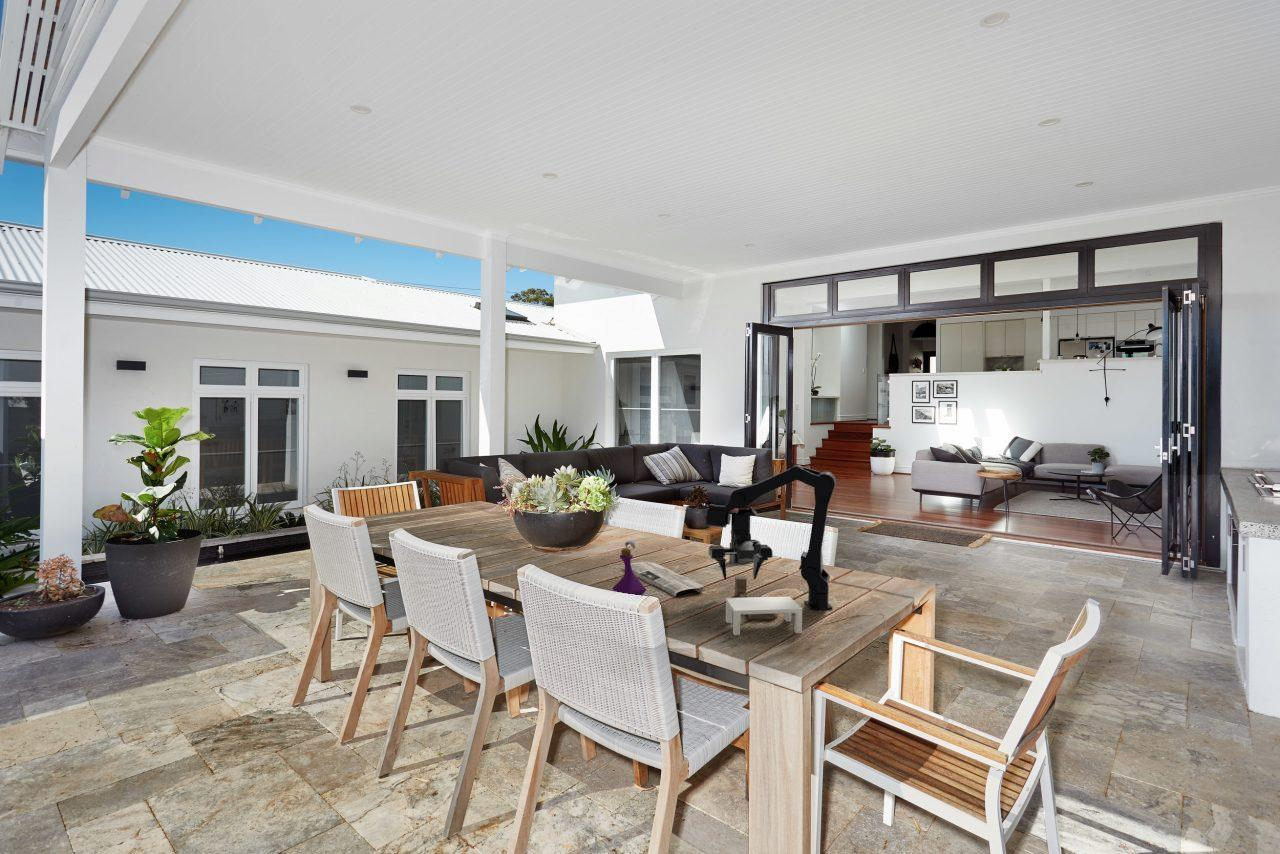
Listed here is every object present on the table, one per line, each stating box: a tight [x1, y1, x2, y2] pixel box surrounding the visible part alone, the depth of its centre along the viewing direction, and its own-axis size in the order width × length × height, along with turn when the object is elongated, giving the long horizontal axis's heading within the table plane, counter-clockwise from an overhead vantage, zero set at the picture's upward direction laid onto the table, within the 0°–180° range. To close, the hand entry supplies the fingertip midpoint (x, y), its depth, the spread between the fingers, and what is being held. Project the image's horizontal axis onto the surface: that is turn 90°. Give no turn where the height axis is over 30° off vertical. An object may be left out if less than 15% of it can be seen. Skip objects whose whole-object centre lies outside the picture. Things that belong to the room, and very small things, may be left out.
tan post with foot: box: [734, 575, 775, 620], centre depth 189 cm, size 20×7×6 cm, turn 2°
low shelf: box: [725, 596, 803, 636], centre depth 173 cm, size 10×18×6 cm, turn 95°
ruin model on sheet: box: [728, 539, 759, 565], centre depth 239 cm, size 11×3×10 cm, turn 117°
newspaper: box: [622, 561, 708, 597], centre depth 215 cm, size 35×12×4 cm, turn 30°
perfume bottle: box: [611, 540, 647, 596], centre depth 195 cm, size 8×8×18 cm
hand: (739, 579), depth 198 cm, fingers open, 9 cm apart
